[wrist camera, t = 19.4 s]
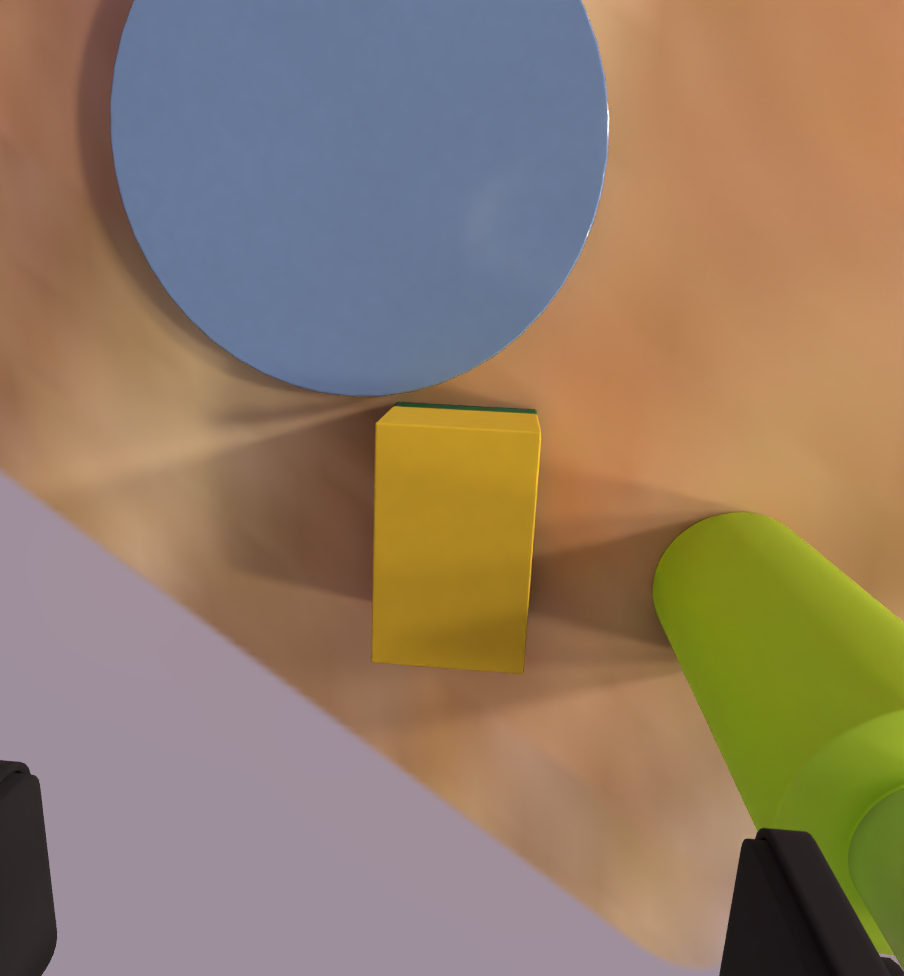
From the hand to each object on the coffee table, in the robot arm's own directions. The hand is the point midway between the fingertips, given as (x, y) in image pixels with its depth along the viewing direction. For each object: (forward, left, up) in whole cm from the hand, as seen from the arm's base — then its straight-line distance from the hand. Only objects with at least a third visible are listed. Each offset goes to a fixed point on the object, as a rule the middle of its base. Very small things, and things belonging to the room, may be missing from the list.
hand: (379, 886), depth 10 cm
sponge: (0, 0, -18) cm, 18 cm away
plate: (-12, -4, -18) cm, 22 cm away
